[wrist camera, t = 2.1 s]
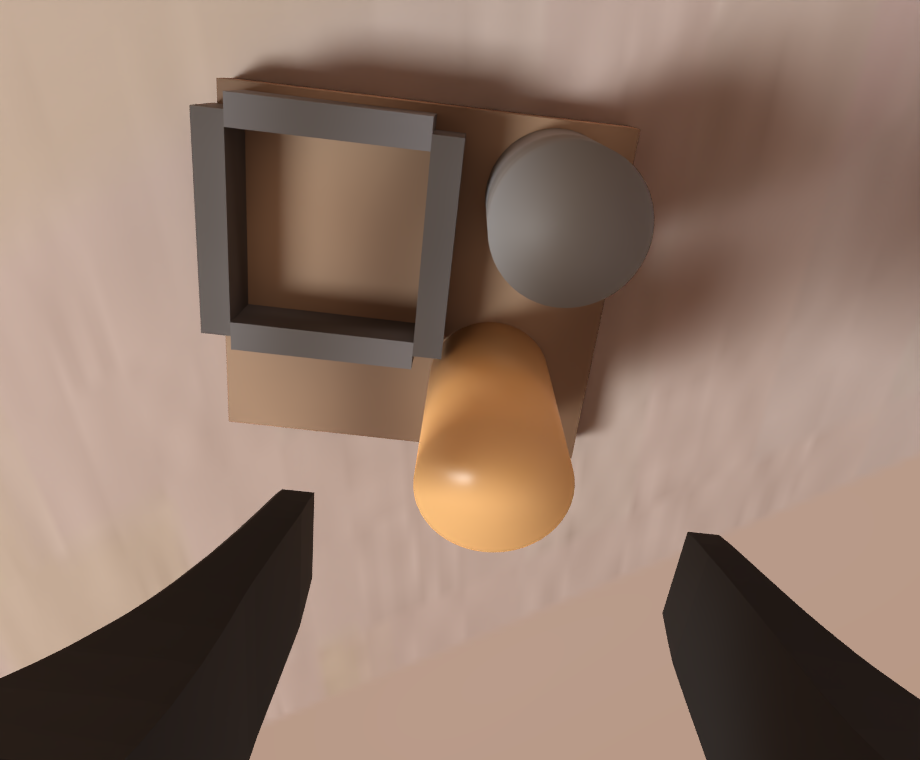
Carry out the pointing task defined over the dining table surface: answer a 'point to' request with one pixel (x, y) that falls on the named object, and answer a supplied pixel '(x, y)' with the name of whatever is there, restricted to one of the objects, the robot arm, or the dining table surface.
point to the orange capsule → (492, 443)
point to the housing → (400, 246)
